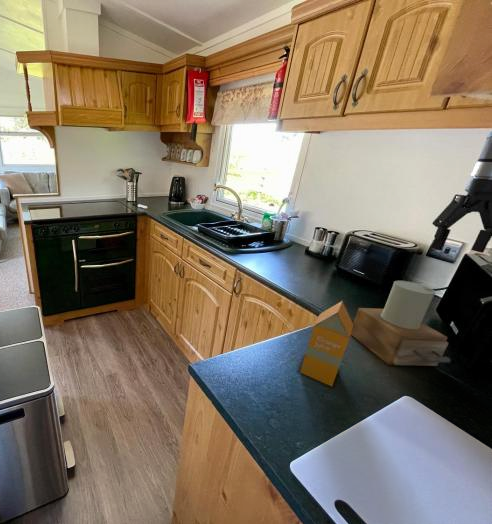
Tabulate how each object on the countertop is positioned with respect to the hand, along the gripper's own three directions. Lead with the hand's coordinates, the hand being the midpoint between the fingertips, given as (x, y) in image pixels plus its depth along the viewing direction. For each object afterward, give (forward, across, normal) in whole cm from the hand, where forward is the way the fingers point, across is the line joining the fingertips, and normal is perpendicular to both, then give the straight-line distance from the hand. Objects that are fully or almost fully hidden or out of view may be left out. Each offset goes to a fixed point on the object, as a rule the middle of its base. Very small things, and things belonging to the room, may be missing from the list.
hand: (456, 250), depth 89 cm
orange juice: (+31, -48, -19) cm, 60 cm away
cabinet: (+31, -18, -8) cm, 36 cm away
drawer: (+30, -18, -12) cm, 37 cm away
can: (+21, -18, -8) cm, 29 cm away
